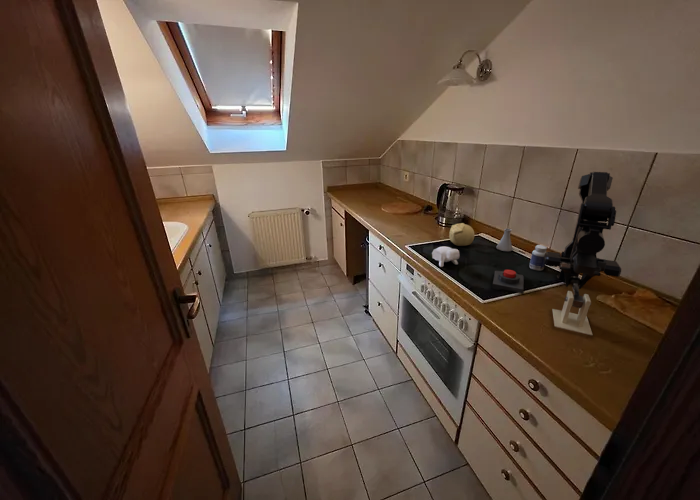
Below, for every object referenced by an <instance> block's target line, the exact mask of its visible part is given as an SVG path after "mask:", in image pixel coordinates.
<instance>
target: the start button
mask: <svg viewBox="0 0 700 500" xmlns="http://www.w3.org/2000/svg"><path fill="white" fill-rule="evenodd" d="M503 271H504V274H503V276H505V277H507V278H515V276H516V273H517V272H516V271H515V270H513V269H504V270H503Z"/></svg>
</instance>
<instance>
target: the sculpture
mask: <svg viewBox="0 0 700 500" xmlns="http://www.w3.org/2000/svg"><path fill="white" fill-rule="evenodd" d="M474 230H475V229H473V227H472V226H470V225H469V224H465V223H464V222H460V223H455V224H452V225H451V227H450V230H449V233H448V235H449V240H450V242H451V243H452V244H453V245H455V246H459V247H467V246H470V245H471V244H473V242H474V239H475V231H474Z"/></svg>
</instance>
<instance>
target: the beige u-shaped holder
mask: <svg viewBox="0 0 700 500" xmlns="http://www.w3.org/2000/svg"><path fill="white" fill-rule="evenodd" d="M573 295H574V293H573V291H571V290H567V293H566V296H565V297H564V302H563V306H562V309H561V310H560V309H556V308H552V317H553V324H554V327H555V328H556V329H562V330H565V331H566V330H567V331H571V332H575V333H579V334H583V335H587V336H593V332H592V329H591V326H590V322H589V319H588V316H587V315H588V312H589V309H590V306H592V301H591V298H590V296H589V295H590V294H587V293H584V294H583V295H582V296H583V301H584V303H583V305H582V308H578V312H577V313H575V312H571V309H572V307H573V306H572V303H573V300H574V297H573Z"/></svg>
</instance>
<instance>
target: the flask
mask: <svg viewBox="0 0 700 500" xmlns="http://www.w3.org/2000/svg"><path fill="white" fill-rule="evenodd" d="M503 230H504V232H503V235H502V237H501V239H500V240H499V242H498V243H497V245H496V249H497V250H499V251H503V252H511V251H513V245H512V239H511V232H512V229H511V228H508V227H507V228H504V229H503Z"/></svg>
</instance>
